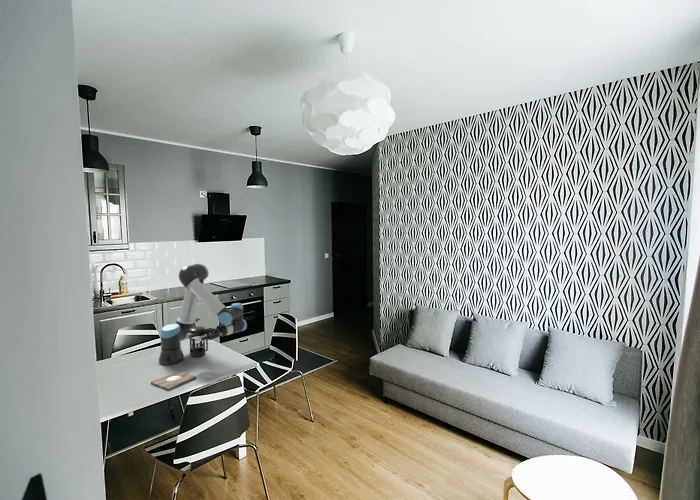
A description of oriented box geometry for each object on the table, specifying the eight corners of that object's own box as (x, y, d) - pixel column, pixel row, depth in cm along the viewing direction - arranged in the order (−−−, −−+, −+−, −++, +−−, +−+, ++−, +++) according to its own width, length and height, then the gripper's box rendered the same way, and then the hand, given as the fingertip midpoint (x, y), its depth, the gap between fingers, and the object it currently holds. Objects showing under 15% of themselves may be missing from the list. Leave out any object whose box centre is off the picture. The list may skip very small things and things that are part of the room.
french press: (185, 357, 220) (184, 320, 218) (193, 352, 230) (192, 316, 228) (203, 358, 219) (202, 321, 217) (211, 352, 229) (210, 317, 227)
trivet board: (150, 383, 207) (150, 381, 207) (179, 372, 222) (179, 370, 222) (168, 390, 199) (167, 388, 199) (196, 378, 214) (196, 376, 214)
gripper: (234, 339, 230) (200, 348, 213) (215, 331, 245) (182, 340, 228) (233, 327, 230) (200, 336, 213) (215, 320, 244) (182, 328, 227)
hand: (191, 338), depth 220 cm, fingers closed on french press, 10 cm apart
